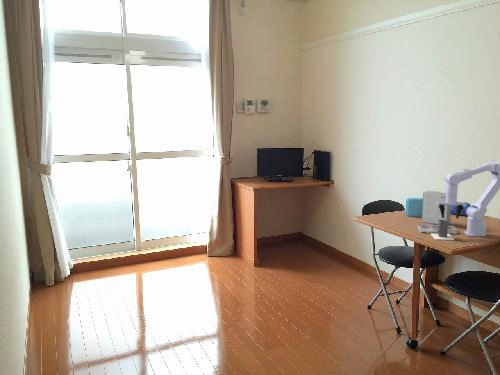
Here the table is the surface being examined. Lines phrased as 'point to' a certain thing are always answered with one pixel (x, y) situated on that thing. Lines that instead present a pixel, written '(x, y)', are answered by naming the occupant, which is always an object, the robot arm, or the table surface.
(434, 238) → the mat
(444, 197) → the hard drive box
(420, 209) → the data package
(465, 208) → the pencil case
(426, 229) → the grey rail
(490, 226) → the table surface
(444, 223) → the square block
